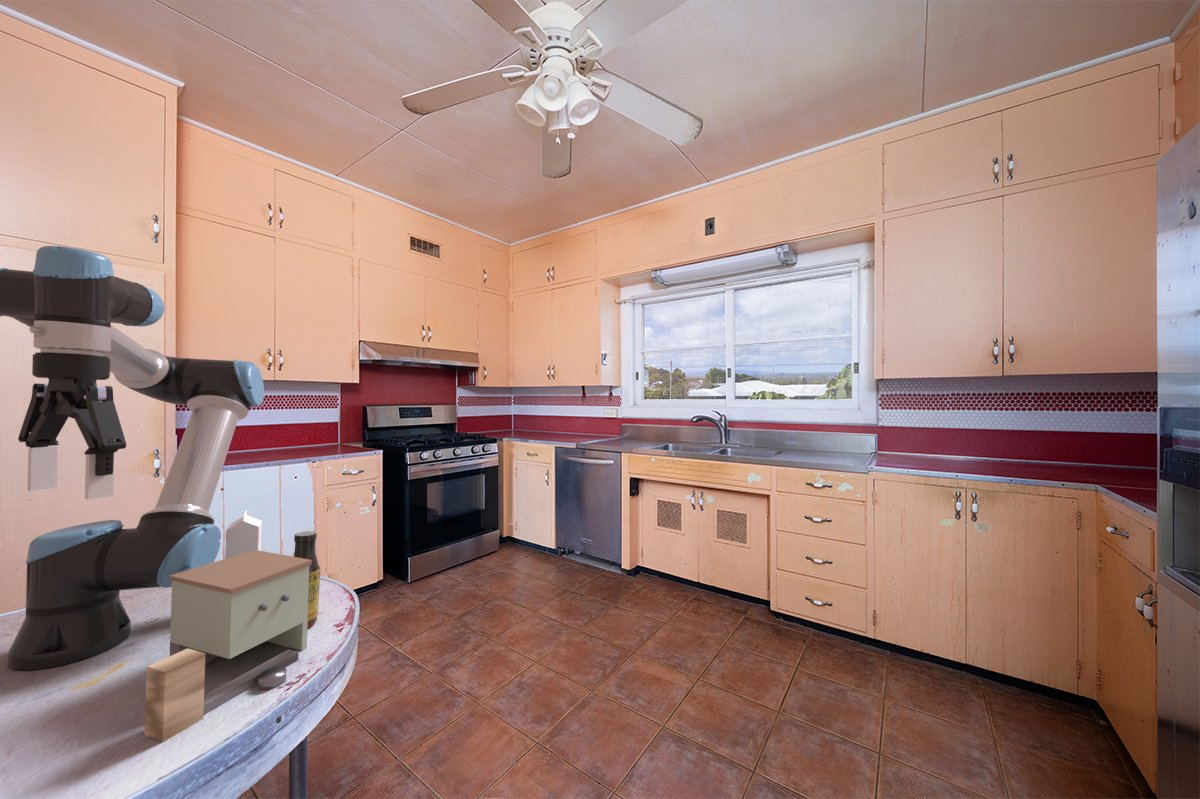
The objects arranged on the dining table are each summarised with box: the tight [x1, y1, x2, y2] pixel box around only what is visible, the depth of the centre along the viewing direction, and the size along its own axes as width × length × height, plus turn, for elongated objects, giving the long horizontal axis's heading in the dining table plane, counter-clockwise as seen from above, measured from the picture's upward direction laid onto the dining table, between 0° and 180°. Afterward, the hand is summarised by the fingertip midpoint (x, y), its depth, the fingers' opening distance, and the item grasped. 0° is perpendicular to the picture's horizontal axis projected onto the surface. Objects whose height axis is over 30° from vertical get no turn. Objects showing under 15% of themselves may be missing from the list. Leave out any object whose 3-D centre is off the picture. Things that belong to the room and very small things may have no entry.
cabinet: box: [169, 550, 312, 664], centre depth 83 cm, size 16×15×17 cm
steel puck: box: [256, 666, 287, 691], centre depth 76 cm, size 4×4×2 cm
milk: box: [224, 509, 263, 559], centre depth 104 cm, size 6×6×22 cm
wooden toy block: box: [144, 648, 299, 743], centre depth 73 cm, size 4×21×10 cm, turn 163°
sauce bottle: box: [293, 530, 321, 629], centre depth 95 cm, size 7×6×20 cm
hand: (69, 493), depth 67 cm, fingers open, 13 cm apart
